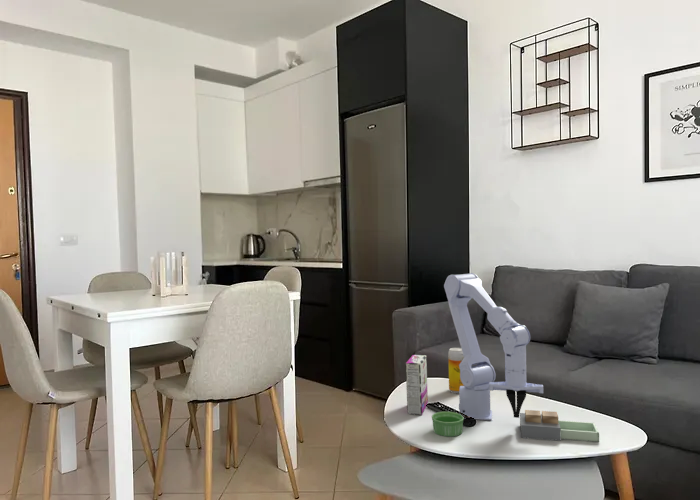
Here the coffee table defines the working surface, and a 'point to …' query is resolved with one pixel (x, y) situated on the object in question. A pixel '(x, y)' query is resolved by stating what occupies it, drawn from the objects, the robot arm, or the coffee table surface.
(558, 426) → the grey flat block
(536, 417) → the oak tile
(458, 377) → the beer glass
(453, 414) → the ramekin
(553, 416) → the oak tile
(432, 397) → the coffee table surface
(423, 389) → the candy bar box
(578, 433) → the tray
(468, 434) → the coffee table surface
